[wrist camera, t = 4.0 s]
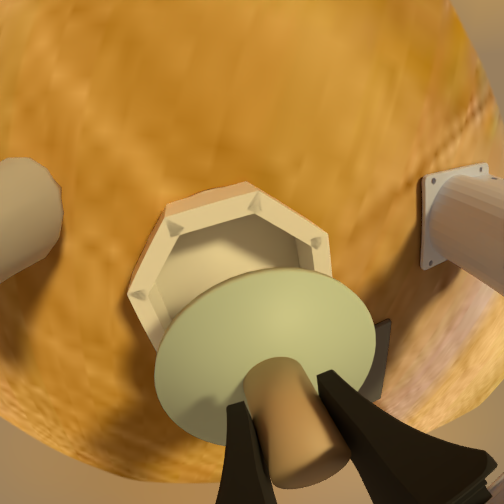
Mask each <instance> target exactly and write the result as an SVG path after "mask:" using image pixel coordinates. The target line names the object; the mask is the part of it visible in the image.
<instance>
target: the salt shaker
mask: <svg viewBox="0 0 504 504" xmlns="http://www.w3.org/2000/svg"><path fill="white" fill-rule="evenodd" d="M63 215H64V211H63V206H62V200H61V186H60V185H59V184H58V183H57V182H56V181H55V180H54V179H53V177H52V176H51V174H50V172H49V171H48V169H47V168H45V167H44V166H42V165H41V164H39V163H37V162H36V161H34V160H33V159H31V158H6V159H4V160H3V161H1V162H0V283H2V282H3V281H5V280H7V279H8V278H10V277H11V276H13V275H15V274H16V273H18V272H20V271H22V270H23V269H25V268H27V267H29V266H31V265H32V264H34V263H36V262H38V261H40V260H42V259H44V258H46V256H47V255H48V253H49V252H50V250H51V249H52V248H53V246H54V245H55V243H56V242H57V241H58V239H59V237H60V232H61V226H62V220H63Z"/></svg>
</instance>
